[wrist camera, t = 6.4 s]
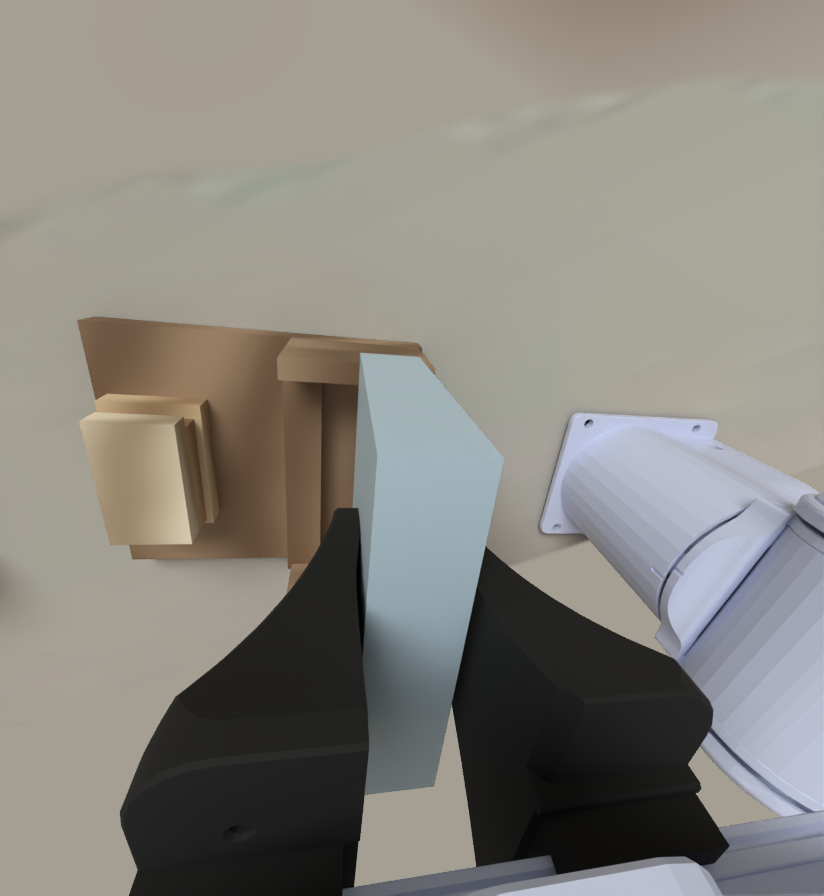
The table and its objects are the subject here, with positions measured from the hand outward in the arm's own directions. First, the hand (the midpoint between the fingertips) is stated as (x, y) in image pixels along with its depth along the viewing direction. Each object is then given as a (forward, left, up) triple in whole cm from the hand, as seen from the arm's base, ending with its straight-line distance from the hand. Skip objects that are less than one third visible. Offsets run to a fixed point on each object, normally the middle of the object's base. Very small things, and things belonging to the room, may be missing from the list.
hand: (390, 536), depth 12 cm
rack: (+5, +2, -10) cm, 11 cm away
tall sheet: (0, 0, -4) cm, 4 cm away
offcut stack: (+10, +2, -9) cm, 13 cm away
